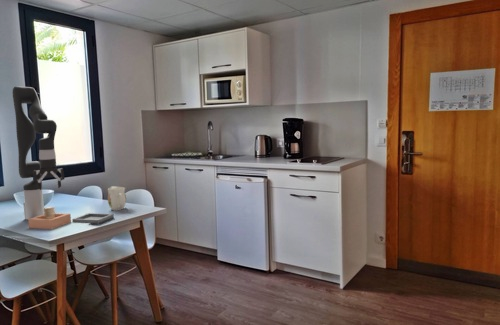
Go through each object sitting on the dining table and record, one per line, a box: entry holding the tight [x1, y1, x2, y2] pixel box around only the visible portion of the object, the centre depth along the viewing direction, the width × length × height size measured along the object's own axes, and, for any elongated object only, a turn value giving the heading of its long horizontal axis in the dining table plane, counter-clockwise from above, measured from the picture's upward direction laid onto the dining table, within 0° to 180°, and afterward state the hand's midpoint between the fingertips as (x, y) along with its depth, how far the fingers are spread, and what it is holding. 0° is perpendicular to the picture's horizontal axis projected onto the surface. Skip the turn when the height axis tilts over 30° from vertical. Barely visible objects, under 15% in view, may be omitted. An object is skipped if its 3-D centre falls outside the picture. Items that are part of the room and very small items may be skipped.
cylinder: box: [44, 206, 56, 219], centre depth 199 cm, size 5×5×9 cm
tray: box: [71, 212, 115, 226], centre depth 209 cm, size 16×14×2 cm
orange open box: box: [27, 212, 72, 230], centre depth 199 cm, size 14×14×6 cm
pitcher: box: [107, 185, 127, 211], centre depth 236 cm, size 11×18×14 cm, turn 36°
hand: (50, 188), depth 198 cm, fingers open, 8 cm apart
